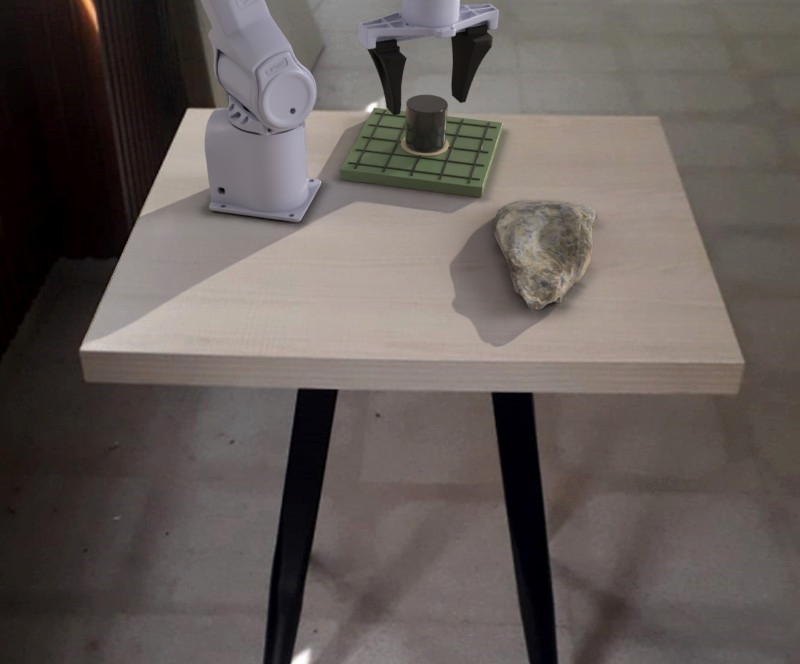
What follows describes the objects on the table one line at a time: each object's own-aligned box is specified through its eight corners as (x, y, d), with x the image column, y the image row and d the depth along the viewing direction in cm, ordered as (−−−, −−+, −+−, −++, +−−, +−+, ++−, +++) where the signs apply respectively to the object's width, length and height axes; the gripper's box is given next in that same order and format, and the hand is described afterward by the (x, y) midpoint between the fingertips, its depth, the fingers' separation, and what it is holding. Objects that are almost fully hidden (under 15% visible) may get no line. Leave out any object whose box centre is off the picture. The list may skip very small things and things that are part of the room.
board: (340, 179, 100) (339, 167, 99) (373, 117, 111) (373, 106, 110) (481, 197, 98) (482, 186, 97) (502, 132, 109) (503, 121, 108)
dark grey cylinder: (406, 153, 102) (407, 112, 99) (404, 134, 105) (405, 94, 102) (447, 153, 102) (449, 112, 99) (444, 134, 105) (446, 94, 102)
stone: (490, 335, 84) (605, 337, 84) (491, 305, 82) (610, 307, 81) (493, 204, 98) (592, 205, 97) (494, 174, 95) (595, 174, 94)
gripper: (378, -7, 86) (378, 132, 96) (518, -26, 91) (505, 108, 100) (349, -32, 91) (351, 103, 100) (483, -49, 96) (474, 82, 105)
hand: (426, 104), depth 101 cm, fingers open, 7 cm apart
